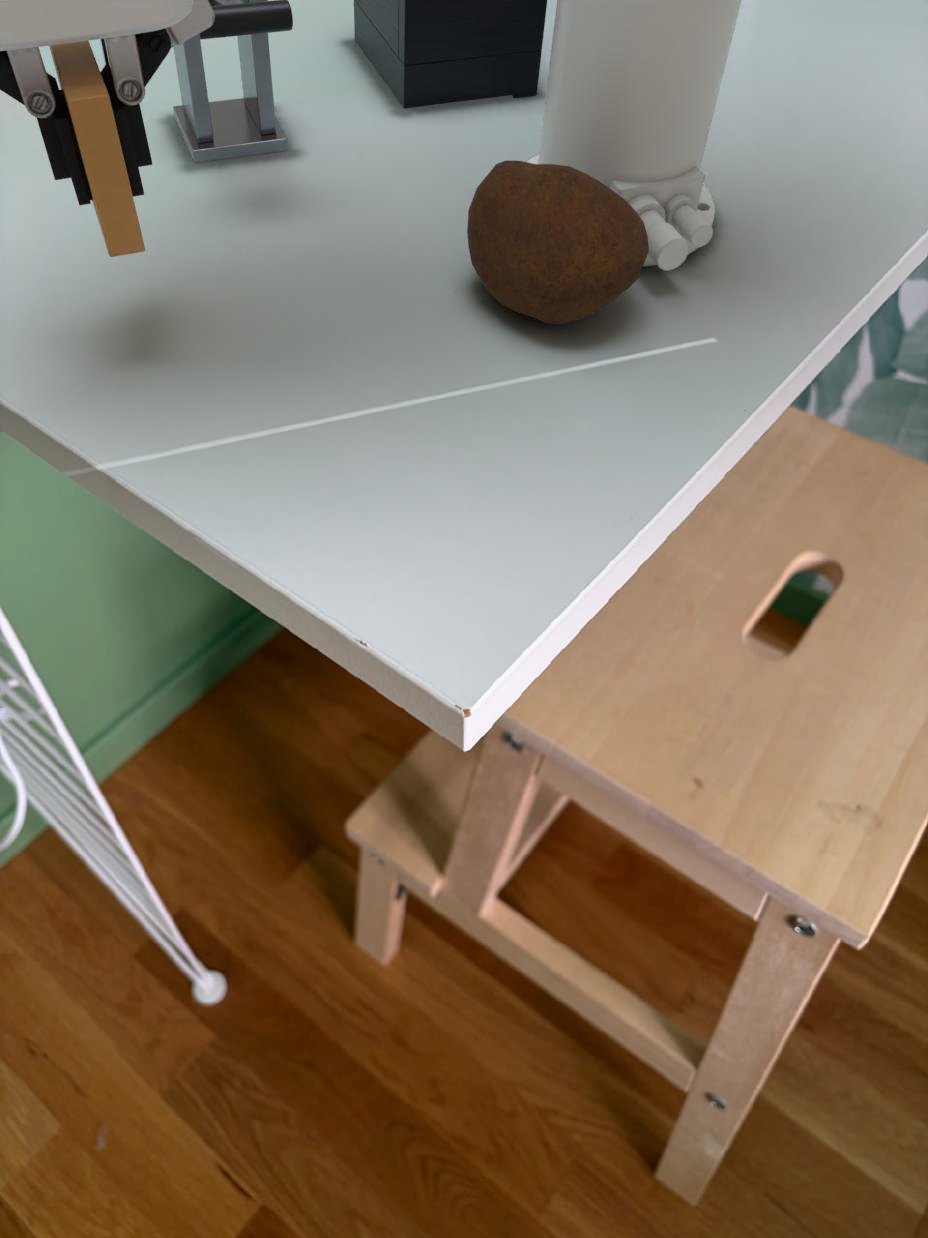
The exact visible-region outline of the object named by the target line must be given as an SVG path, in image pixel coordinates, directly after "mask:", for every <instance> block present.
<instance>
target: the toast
mask: <svg viewBox="0 0 928 1238" xmlns="http://www.w3.org/2000/svg"><path fill="white" fill-rule="evenodd" d="M48 47H49V51H50V54H51V58H52V62H53V66H54V70H55V73H56V77H57V81H58V84H59V89H60V90H62V91H63V94H64V97H65V100H66V104H67V107H68V110H69V113H70V116H71V119H72V123H73V127H74V130H75V134H76V138H77V141H78V145H79V149H80V153H81V156H82V160H83V164H84V167H85V171H86V175H87V179H88V182H89V186H90V190H91V193H92V197H93V200H91V202H92V205H93V208H94V211H95V215H96V217H97V221H98V224H99V227H100V231H101V234H102V237H103V240H104V243H105V246H106V250H107V253H108V257H110V258H116V257H120V256H126V255H132V254H138V253H142V252H145V251H146V247H145V242H144V237H143V234H142V229H141V225H140V221H139V217H138V212H137V208H136V204H135V200H134V197H133V195H132V191H131V186H130V182H129V178H128V174H127V170H126V165H125V161H124V157H123V153H122V148H121V144H120V140H119V136H118V131H117V127H116V123H115V119H114V114H113V110H112V106H111V102H110V97H109V94H108V91H107V89H106V86H105V83H104V81H103V78H102V75H101V70H100V67H99V65H98V61H97V59H96V57H95V54H94V51H93V49H92V46H91V43H90V40H89V41H81V42H73V43H65V44H58V45H50V46H48Z"/></svg>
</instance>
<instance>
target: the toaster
mask: <svg viewBox="0 0 928 1238" xmlns="http://www.w3.org/2000/svg"><path fill="white" fill-rule="evenodd" d="M547 7H548V0H353V23H354V24H353V25H354V41H355V43H356V44H357V45H358V47H359V48H360V50H361V51H362V52H363V54H364V56H365V57H366V58H367V60H368V61H369V63H370V64H371V65H372V67H373V68H374V69H375V71H376V72H377V73H378V75H379V76H380V77H381V79H382V81H383V82H384V83H385V84H386V86H387V87H388V89H389V91H390V92H391V93H392V95H393V96H394V97H395V98H396V100H397V101H398V103H399V104H400V105H401V107H402V108H403V109H411V108H420V107H426V106H427V107H429V106H434V105H443V104H449V103H450V104H451V103H461V102H467V101H476V100H484V99H490V98H492V99H493V98H498V97H499V98H500V97H508V96H512V98H522V97H531V96H537V95H538V88H539V78H540V71H541V60H542V54H543V53H542V52H543V41H544V34H545V26H546V17H547Z"/></svg>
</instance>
